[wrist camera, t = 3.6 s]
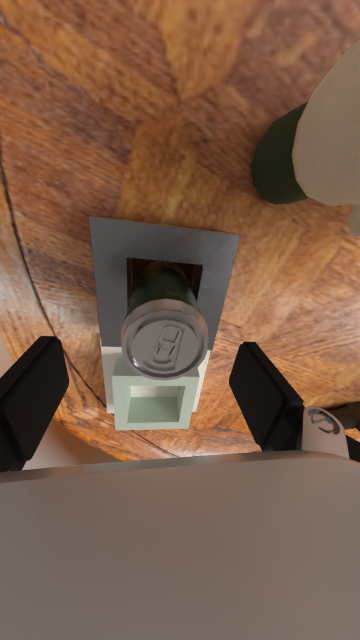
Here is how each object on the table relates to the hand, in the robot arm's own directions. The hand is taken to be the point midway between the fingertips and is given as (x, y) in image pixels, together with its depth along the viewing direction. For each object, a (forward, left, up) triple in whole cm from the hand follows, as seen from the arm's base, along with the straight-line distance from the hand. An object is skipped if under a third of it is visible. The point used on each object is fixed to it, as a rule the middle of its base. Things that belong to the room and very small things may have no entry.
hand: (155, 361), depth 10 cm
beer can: (0, +1, -13) cm, 13 cm away
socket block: (0, +1, -13) cm, 13 cm away
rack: (+14, +1, -13) cm, 19 cm away
